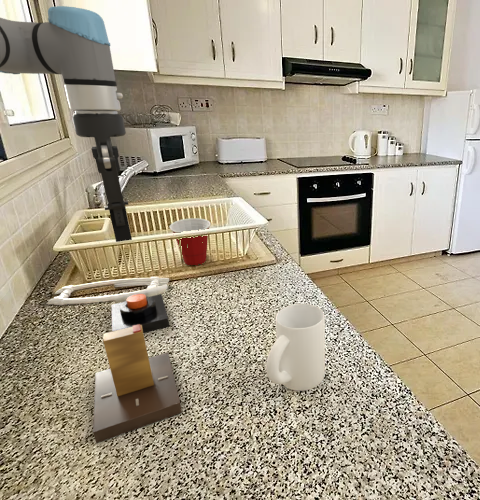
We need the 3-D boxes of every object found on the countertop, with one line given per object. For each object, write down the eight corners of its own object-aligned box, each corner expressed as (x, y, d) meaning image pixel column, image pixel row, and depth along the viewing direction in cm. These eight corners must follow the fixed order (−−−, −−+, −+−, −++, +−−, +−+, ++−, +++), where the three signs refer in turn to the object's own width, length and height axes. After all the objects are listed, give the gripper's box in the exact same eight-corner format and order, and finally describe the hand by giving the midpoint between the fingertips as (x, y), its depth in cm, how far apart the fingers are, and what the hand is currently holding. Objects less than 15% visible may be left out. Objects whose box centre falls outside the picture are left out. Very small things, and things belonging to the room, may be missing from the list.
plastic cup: (174, 272, 103) (167, 231, 99) (176, 258, 112) (170, 219, 108) (216, 267, 107) (211, 227, 102) (214, 253, 116) (209, 216, 112)
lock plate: (98, 382, 62) (95, 371, 62) (169, 361, 68) (167, 351, 67) (96, 443, 51) (92, 431, 50) (182, 412, 57) (180, 401, 56)
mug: (251, 392, 61) (245, 330, 57) (297, 354, 70) (295, 298, 66) (289, 414, 57) (286, 348, 52) (333, 370, 66) (334, 312, 62)
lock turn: (117, 396, 57) (102, 339, 53) (117, 387, 58) (102, 332, 55) (154, 385, 59) (142, 330, 55) (152, 377, 61) (141, 323, 57)
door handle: (167, 298, 89) (42, 314, 81) (171, 281, 98) (58, 293, 90) (166, 288, 88) (38, 303, 80) (170, 272, 97) (55, 283, 89)
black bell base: (113, 313, 83) (109, 297, 81) (163, 302, 87) (160, 287, 86) (114, 341, 73) (109, 323, 72) (169, 327, 78) (166, 310, 77)
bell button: (127, 303, 79) (125, 296, 79) (146, 299, 81) (145, 292, 81) (128, 311, 77) (126, 303, 76) (147, 306, 78) (146, 299, 78)
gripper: (123, 114, 62) (148, 246, 70) (121, 111, 72) (142, 228, 81) (67, 113, 58) (101, 253, 67) (73, 111, 68) (101, 233, 77)
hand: (123, 239), depth 74 cm, fingers closed
